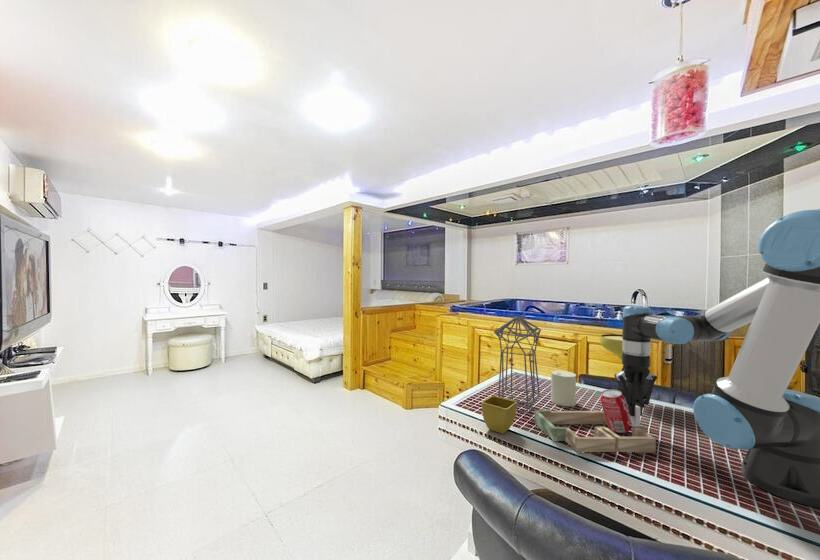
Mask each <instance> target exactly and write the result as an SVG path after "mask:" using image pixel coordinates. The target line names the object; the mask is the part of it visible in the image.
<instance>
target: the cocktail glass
mask: <svg viewBox="0 0 820 560" xmlns="http://www.w3.org/2000/svg"><path fill="white" fill-rule="evenodd" d="M599 342H600V345H601V346H602V347H603V348H604V349H605V350H607V351H609V352H610V353H612V354H614V355H616V356H617V357H618V358H619V359H620V360H621V361H622V353H623V352H624V351H623V350H622V334H608V333H607V334H602V335H600V337H599Z"/></svg>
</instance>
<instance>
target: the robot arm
mask: <svg viewBox="0 0 820 560" xmlns="http://www.w3.org/2000/svg"><path fill="white" fill-rule="evenodd" d="M757 250H758V254H760V255H761V257H760V258H761V259H762V261H764V263H765V264H764V265H763V268H762V274H763V275H764V276H765V278H764V279H762V280H760V281H758V282H756V283H753V284H752V285H750V286H749V287H747V288H745V289H743V290H741V291H739V292H738V293H735V294H734V295H732V296H730V297H729V298H725V300H723V301H721V302H719V303H717V304H716V305H714V306H712V307H710V308H707V309H706V310H705V311H703V312H701V313H698V314H696V315H661V314H654V313H652V308H650V307H649V306H645V305H644V306H643V305H641V306H640V305H626V306H624V307H623V310H622V317H621V319H622V332H621V333H622V334H621V335H622V350H623V351H624V352H623V353H622V360H621V363H622V368H621V371H620V372H619V373H614V375H613V376H614V378H615V379H616V382H617V385H618V389H619V391H621V392H622V395H623V396H624V397H625V399H626V402H627V406H628V410H629V414H630V418H631V422H632V426H641V417H642V416H643V409H644V408H646V406H647V405H649V404H650V400H651V398H652V397H651V396H652V392H653V389H654V385H655V382H656V381H657V379H658V376H657V375H655V374H653V373H651V371H650V367H651V356H650V354H651V353H652V351H651V350H652V341H651V340H655V341H656V340H657V341H662V342H663V343H664V342H665V343H667V344H674V345H675V344H676V345H684V344H687V343H688V342H710V343H711V342H712V343H713V342H716V341H717V342H718V341H724V340H725V339H727V338H728V337H729V336H730V335H731V332H732V331H734V330H737V329H739V328H742V327H743V326H746V325H748V324H749V325H750V326H749V328H748V330H747V333H746V335H745V336H744V339H743V342H742V344H741V347H740V348H739V350H738V351H739V352H738V353H737V356H736V359H735V361H734V363H733V365H732V368H731V369H730V372H729V374H728V375H727V376H723V377H719V378H718V379H717V380H716V382H715V383H714V386H713V388H712V390H711V393H705V394H702V395H699V396H698V397H696V398H695V400H694V402H693V407H692V412H693V415H694V418H695V421H696V422H697V424H698V426H699V428H700V430H701V431H703V433H704V434H705V435H706V436H707V437H708V438H709V439H710V440H712V441H713V442H714V443H716V444H718V445H720V446H722V447H724V448H728V449H734V450H746V451H747V453H746V454H745V456H744V459H743V460H742V461H741V474H742V476H743V477H744V478H745V480H747V481H749V482H750V483H752V484H753V485H754V486H756V487H758V488H760V489H762V490H764V491H766V492H768V493H771V494H773V495H774V496H777V497H780V498H783V499H785V500H787V501H791V502H795V503H798V504H801V505H804V506H810V507H814V508H818V509H819V508H820V397H818V396H816V395H813V394H809V393H807V392H801V391H799V390H798V391H797V390H793V389H789V388H788V387H789V384H790V382H791V381H792V379H793V378H794V377H793V376H794V375H795V373H796V372H797V369H798V367H799V365H800V363H801V361H802V359H803V357H804V355H805V353H806V351H807V349H808V347H809V345H810V343H811V341H812V339H813V337H814V335H815V333H816V331H817V329H818V327H819V326H820V208H817V209H804V210H797V211H794V212H791V213H789V214H786V215H784V216H781V217H780V218H778V219H776V220H774V221H773V222H772V223H770V224H769V225H768V226H767V227H766V229H764V231H763V232H762V233H761V236H760V238H759V239H758V245H757Z"/></svg>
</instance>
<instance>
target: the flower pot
mask: <svg viewBox="0 0 820 560" xmlns="http://www.w3.org/2000/svg"><path fill="white" fill-rule="evenodd" d="M501 397H502V396H500V397H498V396H497V395H492V396H491V395H490V396H489V397H488V398H486V399H484V400H483V401H482V402H481V410H482V417H483V421H484V424H485V426H486V428H488V429H489V430H490V431H493V432H496V433H498V434H505V433H506V432H507V431H509V429H510V428H511V427H512V425H513V423H514V421H515V418H516V413H517V411H516V410H517V405H518V403H517V402H516V401H513V400H514V399H513V400H509V398H507V399H505V398H506V397H504V398H501Z"/></svg>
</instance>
